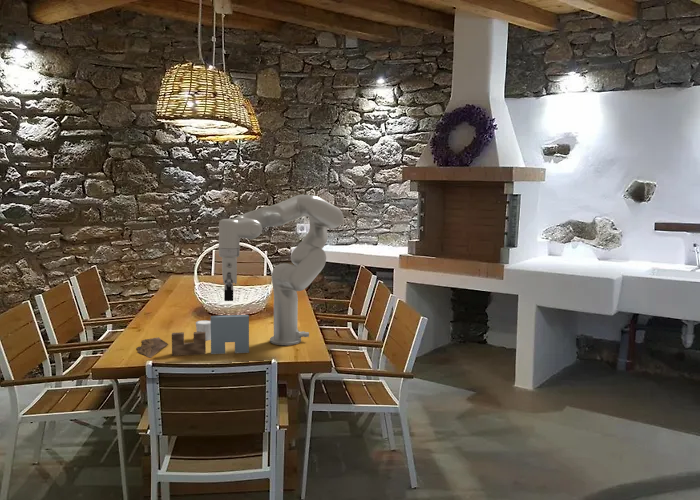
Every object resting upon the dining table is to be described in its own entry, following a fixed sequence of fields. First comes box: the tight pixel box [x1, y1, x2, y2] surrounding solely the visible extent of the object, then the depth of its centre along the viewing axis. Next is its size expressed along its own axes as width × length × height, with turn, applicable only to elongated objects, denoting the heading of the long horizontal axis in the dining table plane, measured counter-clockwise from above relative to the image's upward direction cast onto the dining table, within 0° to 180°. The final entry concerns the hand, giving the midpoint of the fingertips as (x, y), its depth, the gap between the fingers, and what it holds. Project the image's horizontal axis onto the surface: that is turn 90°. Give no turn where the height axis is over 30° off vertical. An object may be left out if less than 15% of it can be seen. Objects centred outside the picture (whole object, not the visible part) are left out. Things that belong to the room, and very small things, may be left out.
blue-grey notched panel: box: [210, 314, 250, 355], centre depth 231 cm, size 14×2×14 cm, turn 101°
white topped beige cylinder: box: [195, 319, 211, 341], centre depth 248 cm, size 7×7×7 cm
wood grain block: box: [171, 331, 207, 356], centre depth 228 cm, size 12×2×8 cm, turn 101°
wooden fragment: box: [136, 337, 169, 358], centre depth 236 cm, size 26×11×1 cm, turn 9°
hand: (228, 298), depth 228 cm, fingers open, 9 cm apart
